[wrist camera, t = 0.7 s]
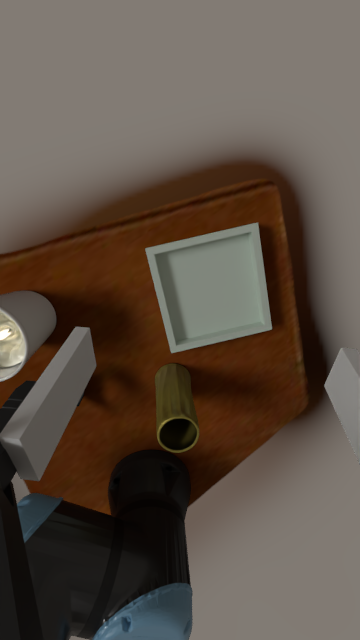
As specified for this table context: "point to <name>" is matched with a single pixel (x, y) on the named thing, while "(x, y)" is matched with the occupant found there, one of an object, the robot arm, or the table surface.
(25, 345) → the candle holder
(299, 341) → the table surface
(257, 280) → the tray
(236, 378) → the table surface
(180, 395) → the vase
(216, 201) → the table surface
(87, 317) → the table surface
